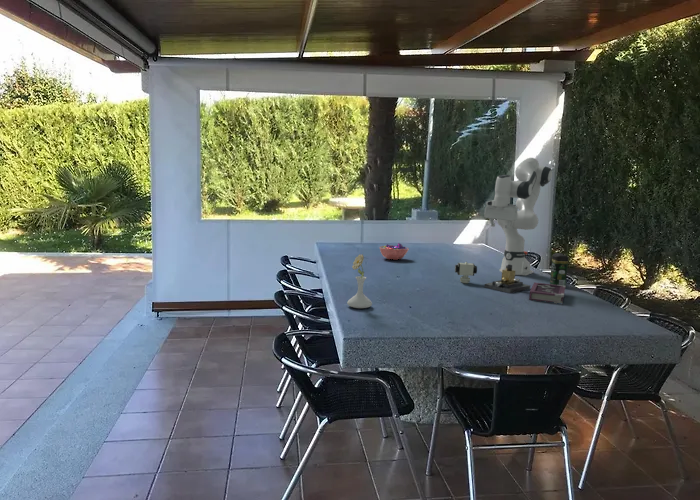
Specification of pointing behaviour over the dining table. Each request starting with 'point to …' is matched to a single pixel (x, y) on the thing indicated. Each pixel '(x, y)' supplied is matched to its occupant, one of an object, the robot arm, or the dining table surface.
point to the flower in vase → (359, 287)
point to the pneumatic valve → (465, 271)
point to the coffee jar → (559, 269)
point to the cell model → (393, 251)
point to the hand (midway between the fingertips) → (499, 227)
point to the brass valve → (508, 275)
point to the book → (547, 292)
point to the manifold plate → (507, 286)
